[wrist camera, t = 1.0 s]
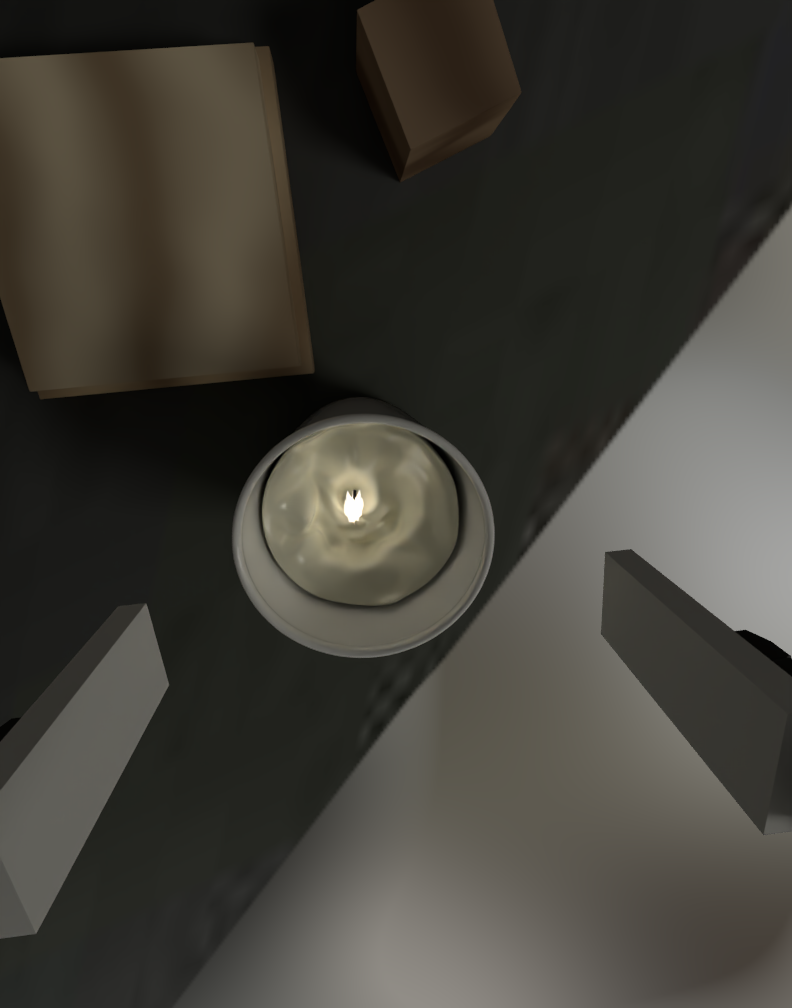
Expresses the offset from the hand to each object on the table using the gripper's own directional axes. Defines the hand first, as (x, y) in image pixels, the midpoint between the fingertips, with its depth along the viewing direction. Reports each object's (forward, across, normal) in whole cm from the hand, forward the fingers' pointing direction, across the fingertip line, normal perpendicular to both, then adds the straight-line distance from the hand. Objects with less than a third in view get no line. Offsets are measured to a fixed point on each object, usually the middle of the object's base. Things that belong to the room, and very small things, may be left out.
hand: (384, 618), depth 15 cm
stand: (+16, -10, +13) cm, 23 cm away
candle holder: (+17, -1, 0) cm, 17 cm away
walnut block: (+17, +4, +18) cm, 25 cm away
